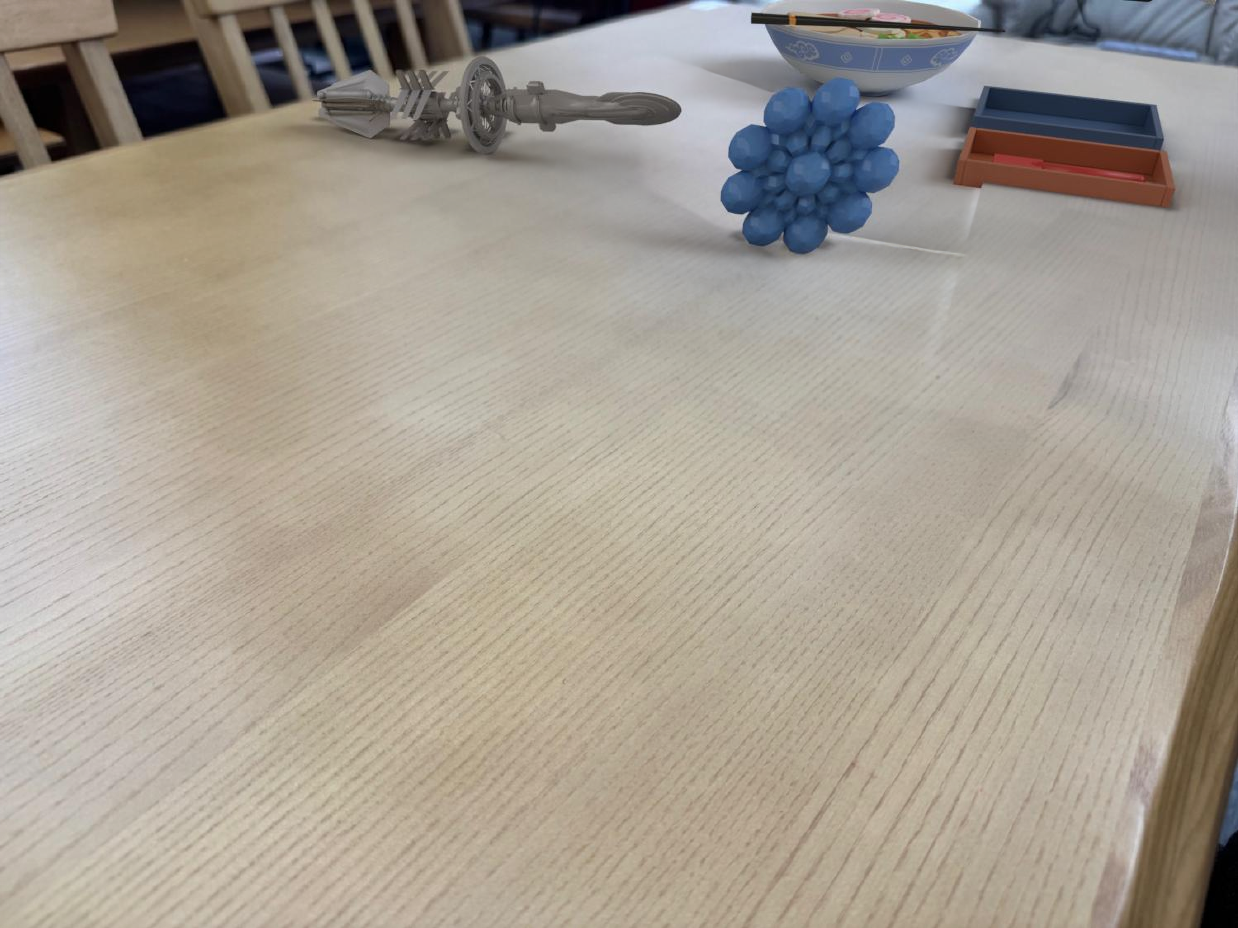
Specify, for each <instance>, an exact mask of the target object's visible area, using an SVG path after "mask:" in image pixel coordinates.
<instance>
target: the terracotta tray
mask: <svg viewBox="0 0 1238 928" xmlns="http://www.w3.org/2000/svg"><path fill="white" fill-rule="evenodd" d="M994 154H1002V155H1010V156H1017V157H1025V158H1033V159H1041V160H1043V162H1046V163H1054V164H1062V165H1069V166H1077V167H1085V168H1092V169H1100V170H1108V171H1115V172H1123V173H1131V174H1138V175H1142V176H1144V177H1145V180H1146V183H1145V182H1138V181H1130V180H1123V179H1115V178H1108V177H1100V176H1093V175H1085V174H1077V173H1070V172H1062V171H1055V170H1047V169H1040V168H1032V167H1025V166H1017V165H1009V164H1002V163H994V162H993V158H994ZM984 183H986V184H987V183H988V184H995V185H1002V186H1009V187H1018V188H1024V189H1031V190H1039V191H1044V192H1045V191H1046V192H1052V193H1060V194H1068V195H1075V196H1082V197H1089V198H1096V199H1104V200H1109V201H1118V202H1124V203H1132V204H1133V203H1134V204H1138V205H1145V206H1154V207H1161V208H1170V205H1171V202H1172V200H1173V197H1174V194H1175V191H1176V186H1175V182H1174V178H1173V174H1172V169H1171V164H1170V159H1169V155H1168V151H1166V150H1160V151H1159V150H1152V149H1144V148H1136V147H1128V146H1120V145H1112V144H1104V143H1095V142H1087V141H1079V140H1071V139H1063V138H1055V137H1047V136H1039V135H1031V134H1023V133H1015V132H1006V131H998V130H990V129H982V128H974V127H971V126H970V127H969V128H968V131H967V135H966V137H965V140H964V143H963V146H962V149H961V152H960V155H959V158H958V161H957V165H956V170H955V174H954V179H953V183H952V184H953V185H955V186H961V187H969V188H970V187H971V188H976V189H982V188H983V184H984Z"/></svg>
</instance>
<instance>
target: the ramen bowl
mask: <svg viewBox="0 0 1238 928" xmlns="http://www.w3.org/2000/svg"><path fill="white" fill-rule="evenodd" d="M750 24H751V25H764V26H765V29H766V31H767V33H768V35H769V37H770V40H771V41H772V43H773V45H774V47H775V48H776V50H777V51H778V52H779V54H780V56H781V57H782V58H783V59H784V60H785V61H786V62H787V63H788V64H789V65H790V66H792V67H793V68H794V69H795V70H796V71H797V72H798V73H799V74H802V75H804V76H805V77H808V78H810V79H811V80H813V81H816V82H819V83H820V84H822V85H824V84H825V83H827V82H829V81H831V80H833V79H835V78H844V79H849V80H853V82H854V83H855V84H856V86H857V87H858V90H859V92H860V96H868V97H881V96H887V95H889V94H892V93H894V92H895V91H897V90H901V89H905V88H908V87H911V86H914V85H918V84H920V83H923V82H925V81H927V80H930V79H932V78H934V77H936V76H938V75H939V74H941V73H943V72H944V71H946V70H947V69H948V68H949V67H950V66H951V65H952V64H954V63H955V62H956V61H957V60H958V59H959V57H960V56H961V55H962V54H963V53H964V52H965V51H966V50H967V49H968V47H969V46H970V45H971V44H972V42H973V41H974V40H975V38H976V37H977V35H978V34H979V32H984V33H985V32H987V33H989V32H990V33H1006V30H1005V29H1003V28H990V27H989V28H988V27H982V25H981V24H982V21H981V20H980V19H978V18H976V17H974V16H972V15H970V14H968V13H966V12H963V11H960V10H956V9H952V8H948V7H945V6H941V5H937V4H932V3H931V4H930V3H925V2H918V1H917V2H916V1H911V0H780V1H776V2H771V3H768V4H766V6H765V7H763V8H762V9H761V10H760V12H752V11H751V14H750Z"/></svg>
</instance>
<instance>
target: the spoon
mask: <svg viewBox="0 0 1238 928" xmlns="http://www.w3.org/2000/svg"><path fill="white" fill-rule="evenodd" d="M1199 1H1200V2H1202V3H1206V4H1207V5H1212V6H1215V4H1216V2H1217V0H1199Z"/></svg>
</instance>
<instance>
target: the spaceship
mask: <svg viewBox="0 0 1238 928" xmlns="http://www.w3.org/2000/svg"><path fill="white" fill-rule="evenodd" d="M417 72H418V73H417V75H416V73H415V71H414V69H407V71H406V73H407V77H408V79H409V81H408V80H407V78H406V75H405V73H404V72H403V70H402V69H396V70H395V74H396V77H397V80H398V83H399V85H400V87H399V90H400V92H399V94H398V97H395V96H390V84H389V83H388V82H387V81H386V80H385V79H383V78H382V77H381V76H379V75H378V74H377V73H375V72H374V71H373V70H372V69H368V70H366V71H363V72H360V73H357V74H355V75H352V76H349V77H346V78H344V79H341V80H339V81H336V82H334V83H332V84H331V85H330V86H327V87H325V88H323V89H320V90H317V92H316V98H317V99H311V101H312V102H317V103H320V105H321V107H319V108H318V114H317V115H318V116H319V117H321V118H323V119H325V120H328V121H330V122H332V124H334V125H337V126H338V127H341V128H343V129H346V130H348V131H351V132H354V133H357V134H359V135H361V136H364V137H366V138H369V139H372V138H374V137H375V136H376V135H378V134H379V133H381V132H382V131H384V130H385V129H387V127H389V126H390V125H391V120H395V119H397V116H398V114H399V112H400V113H402V115H401V117H400V118H401V120H407V119H408V118H411V119H412V122H414V123H412V124H411V126H410V127H409V128H407V130H406V131H405V132H404V133H403V134H402V135H401V137H400V138H399V140H401V141H403V140H404V141H405V140H406V139H407V138H408V137H409V136H410V135H412V134H413V132H414V131H415V130H416V129H418V130H417V131H416V133H415V134H413V136H412V137H411V138H410V140H411V141H416V140H417V139H419V138H420V137H421V136H422V138H421V141H428V140H429V139H430V138H431V137H432V136H433V138H434V139H440V138H441V134H440V131H439V129H440V130H441V132H442V134H443V136H444V138H445V139H451V138H452V134H451V132H450V127H449V125H448V123H447V122H448V121H449V120H448V117H449V116H450V113H454V115H455V118H456V119H457V120H459V121H460V122H461V126H462V130H463V133H464V135H465V138H466V140H467V141H468V144H469V145H470V146H471V147H472V149H473V150H475V151H476V152H477V153H479V154H481V155H489V154H491V153H493V152H494V151H496V150H497V149H498V147H500V145H501V143H502V141H503V139H504V137H505V133H506V129H507V124H508V122H511V123H514V124H517V126H522V124H538V128H539V130H540V131H542V133H543V132H544V133H545V132H546V133H547V132H549V133H554V132H555V131H556V129H557V125H564V124H568V123H572V122H577V121H605V122H607V123H611V124H613V125H617V126H618V125H620V126H643V127H646V126H647V127H648V126H658V125H659V126H660V125H664V124H667V123H670V122H673V121H674V120H677V119H678V118H679V117H680V115H681V114H682V107H681V105H680V103H678V102H677V101H675V100H674V99H672V98H670V97H668V96H665V95H663V94H658V93H652V92H645V91H633V92H631V91H630V92H629V91H609V92H606V93H604V94H602V95H581V94H577V93H573V92H568V91H564V90H560V89H546V88H545V85H544V82H543V81H541V80H530V81H529V82H528V83H527V84H526V85H525V86H526V88H525V89H523V88H521V89H520V88H517V86H513V87H512V88H506V84H505V80H504V77H503V74H502V72H501V70H500V68H499V67H498V65H497V64H496V63H495V61H494V60H493V59H491V58H489V57H488V56H485V55H479V56H476V57H475V58H473V59H472V60H471V61H470V62H469V63H468V64H467V66H466V68H465V70H464V72H463V74H462V78H461V82H460V86H457V87H456V88H455V91H451V92H450V95H449V97H448V98H447V97H445V96H446V94H447V92H446V91H441V92H439V91H436V90H435V89H436V88H435V87H436V86H437V85H438V84H439V83H440V82H441V81H442V80H443V79H444V77H445V76H447V74H448V73H449V72H450V71H449V70H443V71H442V72H441V73H440V74H438V75H437V76H436V77H435V78H434V79H433V80H432V81H430V80H431V79H432V78H433V77H434V76H435V75H436V74H437V73H438V70H432V71H431V72H429V73H428V74H427V70H425V69H419V70H418V71H417ZM419 80H420V81H419ZM484 86H485V90H484ZM428 129H430V130H428Z"/></svg>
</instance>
